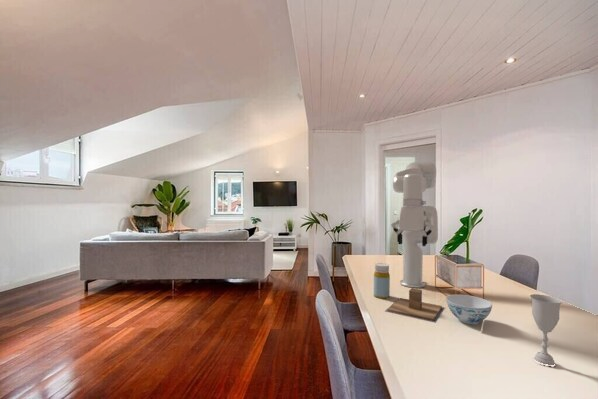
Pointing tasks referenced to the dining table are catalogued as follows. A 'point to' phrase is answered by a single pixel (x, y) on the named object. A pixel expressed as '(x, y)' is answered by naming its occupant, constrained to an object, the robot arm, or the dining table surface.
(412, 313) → the cover
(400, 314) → the mat
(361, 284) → the dining table surface
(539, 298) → the chalice
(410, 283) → the robot arm
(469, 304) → the chinaware
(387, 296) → the bottle
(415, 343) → the dining table surface
